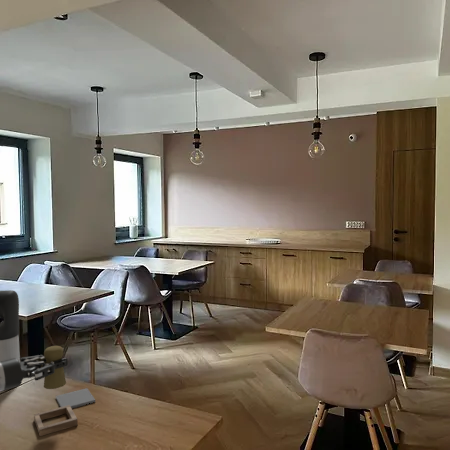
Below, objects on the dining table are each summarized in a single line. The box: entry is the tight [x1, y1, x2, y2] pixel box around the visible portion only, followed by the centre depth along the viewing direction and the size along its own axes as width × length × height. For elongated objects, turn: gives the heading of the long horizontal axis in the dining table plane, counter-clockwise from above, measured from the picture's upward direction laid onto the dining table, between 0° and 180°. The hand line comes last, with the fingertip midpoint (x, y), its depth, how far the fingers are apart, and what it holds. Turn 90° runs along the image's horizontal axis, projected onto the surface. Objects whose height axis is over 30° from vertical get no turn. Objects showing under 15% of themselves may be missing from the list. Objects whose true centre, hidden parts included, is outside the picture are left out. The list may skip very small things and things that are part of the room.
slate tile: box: [55, 387, 96, 409], centre depth 136 cm, size 10×10×1 cm
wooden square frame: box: [33, 405, 79, 437], centre depth 122 cm, size 10×10×2 cm
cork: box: [43, 345, 67, 390], centre depth 122 cm, size 6×6×11 cm
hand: (63, 359), depth 124 cm, fingers closed on cork, 4 cm apart
